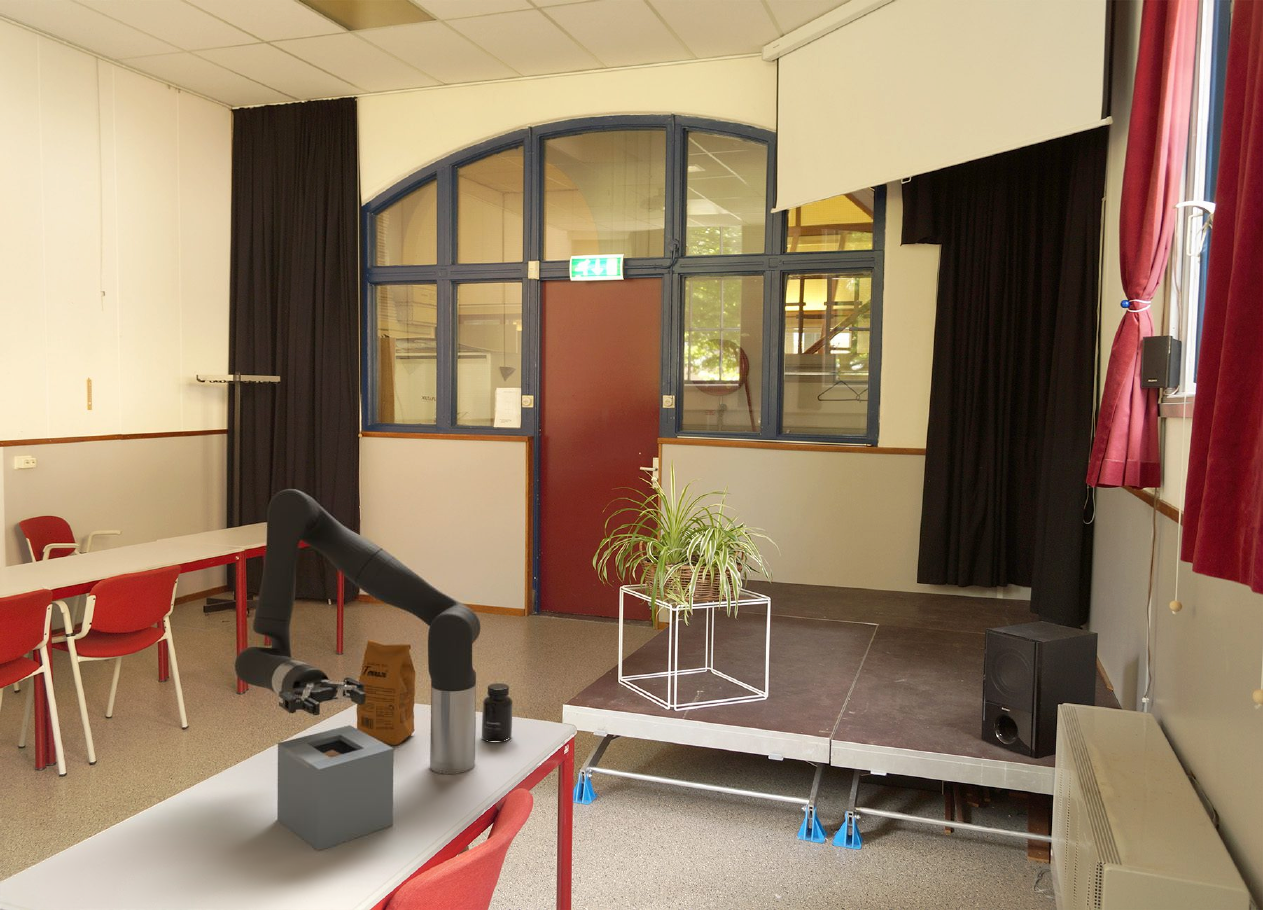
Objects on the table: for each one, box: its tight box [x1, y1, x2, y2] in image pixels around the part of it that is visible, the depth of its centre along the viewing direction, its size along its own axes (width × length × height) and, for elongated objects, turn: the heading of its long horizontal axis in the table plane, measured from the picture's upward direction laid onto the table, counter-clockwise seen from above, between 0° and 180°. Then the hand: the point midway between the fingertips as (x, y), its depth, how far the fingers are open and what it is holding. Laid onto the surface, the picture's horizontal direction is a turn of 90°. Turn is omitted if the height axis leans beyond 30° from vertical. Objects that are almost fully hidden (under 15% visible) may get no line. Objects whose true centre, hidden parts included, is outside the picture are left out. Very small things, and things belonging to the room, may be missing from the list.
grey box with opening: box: [276, 724, 395, 852], centre depth 160 cm, size 16×14×14 cm
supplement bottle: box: [481, 682, 514, 742], centre depth 204 cm, size 7×7×12 cm
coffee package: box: [356, 639, 416, 746], centre depth 203 cm, size 10×12×22 cm
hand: (340, 704), depth 158 cm, fingers open, 8 cm apart
